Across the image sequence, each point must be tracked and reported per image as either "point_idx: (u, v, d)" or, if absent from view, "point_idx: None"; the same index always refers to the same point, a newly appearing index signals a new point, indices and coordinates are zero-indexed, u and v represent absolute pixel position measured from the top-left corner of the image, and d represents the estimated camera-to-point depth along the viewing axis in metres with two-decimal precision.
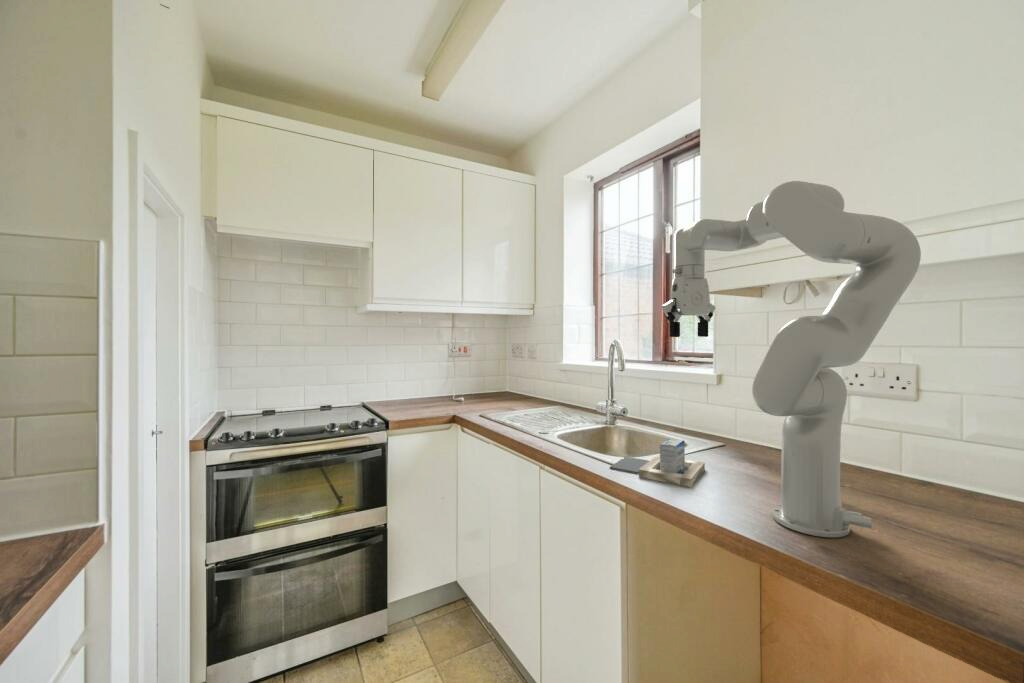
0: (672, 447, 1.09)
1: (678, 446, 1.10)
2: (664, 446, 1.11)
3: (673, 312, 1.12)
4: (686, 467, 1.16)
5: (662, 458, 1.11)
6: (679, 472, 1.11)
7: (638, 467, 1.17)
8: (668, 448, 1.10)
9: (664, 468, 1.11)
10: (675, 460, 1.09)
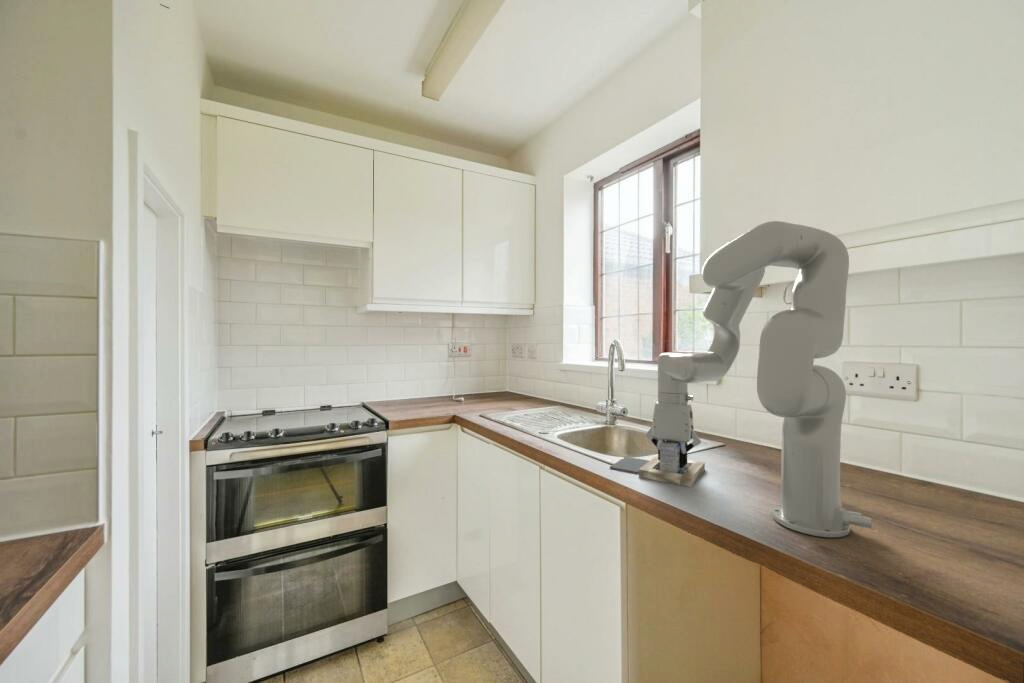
0: (672, 447, 1.09)
1: (678, 446, 1.10)
2: (664, 445, 1.11)
3: (684, 442, 1.11)
4: (686, 467, 1.16)
5: (662, 458, 1.11)
6: (679, 472, 1.11)
7: (638, 467, 1.17)
8: (668, 448, 1.10)
9: (664, 468, 1.11)
10: (675, 460, 1.09)
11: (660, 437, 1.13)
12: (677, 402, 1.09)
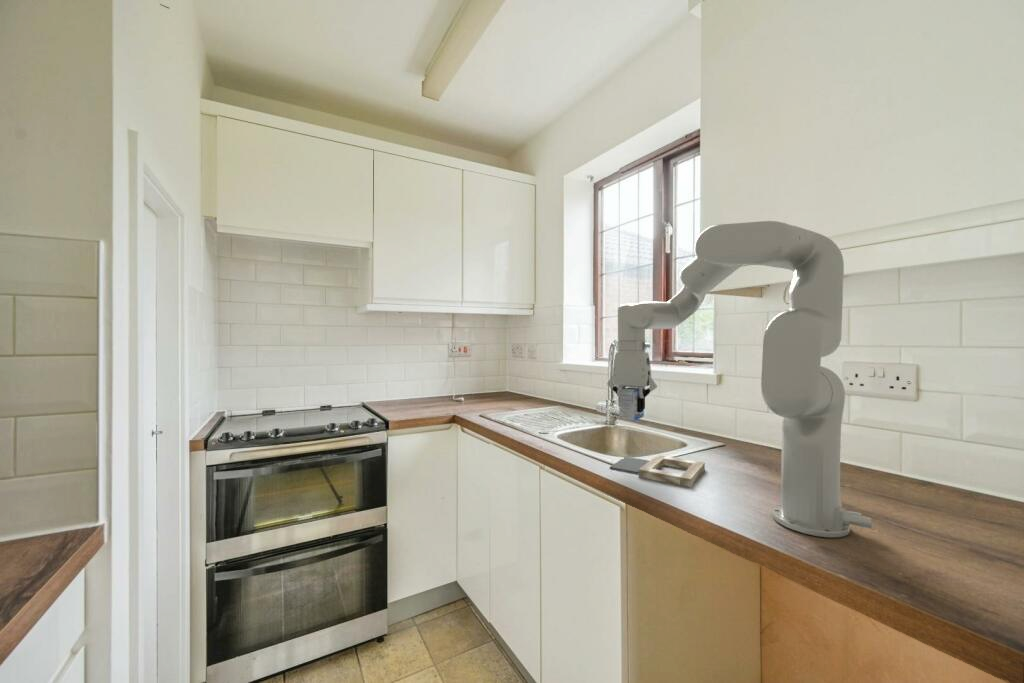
0: (629, 392, 1.16)
1: (636, 391, 1.17)
2: (622, 391, 1.17)
3: (642, 388, 1.17)
4: (686, 467, 1.16)
5: (621, 403, 1.17)
6: (637, 416, 1.17)
7: (638, 467, 1.17)
8: (626, 393, 1.16)
9: (623, 412, 1.17)
10: (632, 403, 1.15)
11: (620, 384, 1.19)
12: (634, 349, 1.16)
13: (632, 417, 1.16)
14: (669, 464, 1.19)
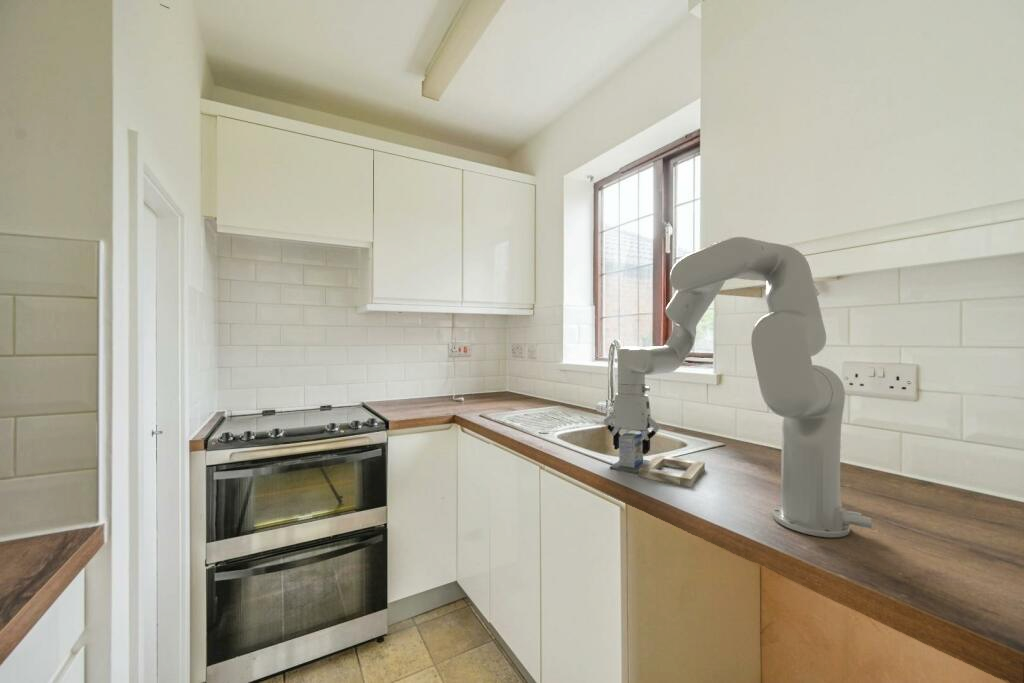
0: (630, 439, 1.16)
1: (636, 438, 1.17)
2: (622, 437, 1.17)
3: (644, 429, 1.17)
4: (686, 467, 1.16)
5: (621, 449, 1.18)
6: (637, 462, 1.18)
7: (638, 467, 1.17)
8: (626, 440, 1.17)
9: (623, 459, 1.17)
10: (633, 451, 1.16)
11: (619, 426, 1.20)
12: (634, 393, 1.16)
13: (632, 465, 1.16)
14: (669, 464, 1.19)
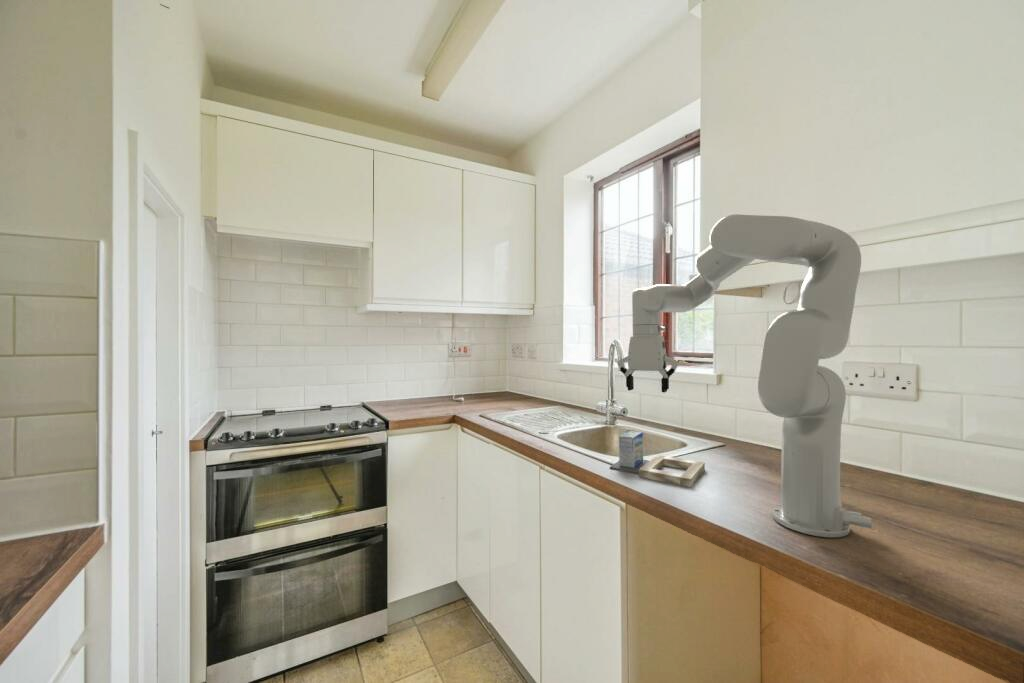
0: (630, 439, 1.16)
1: (636, 438, 1.17)
2: (622, 437, 1.17)
3: (662, 368, 1.16)
4: (686, 467, 1.16)
5: (621, 449, 1.18)
6: (637, 462, 1.18)
7: (638, 467, 1.17)
8: (626, 440, 1.17)
9: (623, 459, 1.17)
10: (633, 451, 1.16)
11: (635, 368, 1.20)
12: (650, 333, 1.16)
13: (632, 465, 1.16)
14: (669, 464, 1.19)
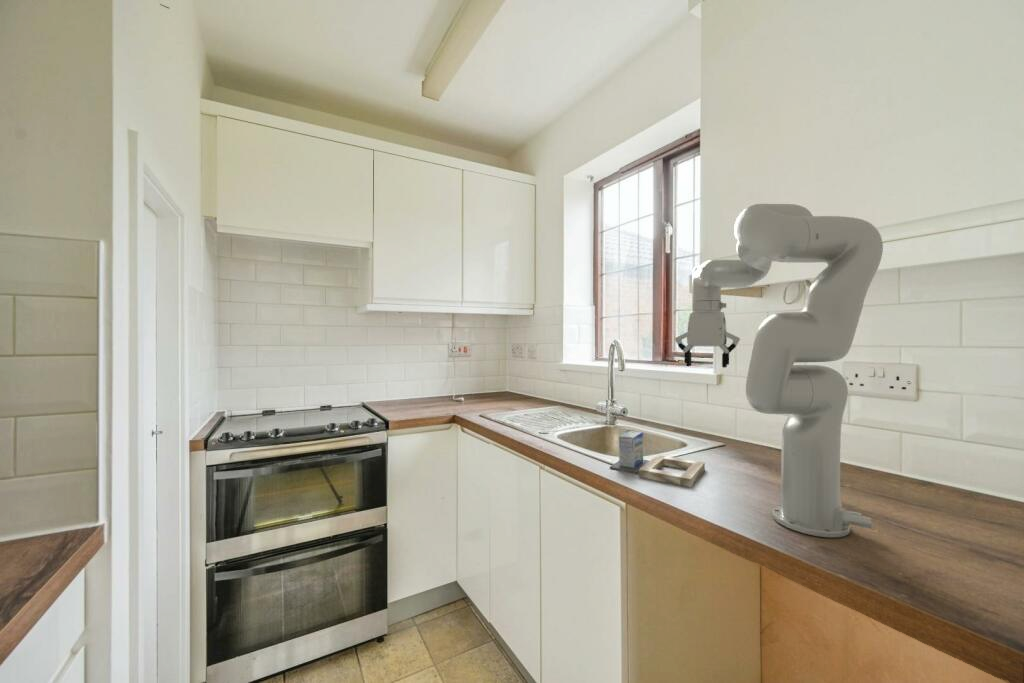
0: (630, 439, 1.16)
1: (636, 438, 1.17)
2: (622, 437, 1.17)
3: None
4: (686, 467, 1.16)
5: (621, 449, 1.18)
6: (637, 462, 1.18)
7: (638, 467, 1.17)
8: (626, 440, 1.17)
9: (623, 459, 1.17)
10: (633, 451, 1.16)
11: (695, 344, 1.21)
12: (712, 308, 1.18)
13: (632, 465, 1.16)
14: (669, 464, 1.19)
